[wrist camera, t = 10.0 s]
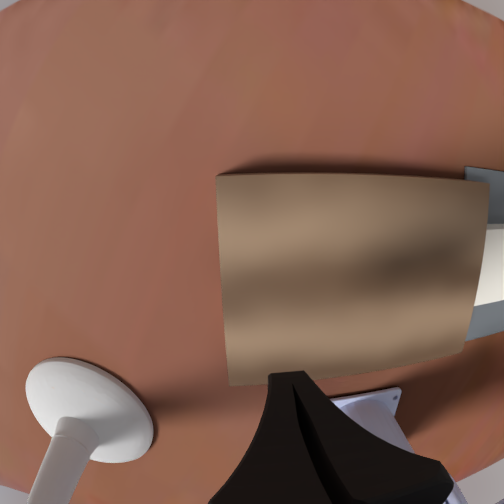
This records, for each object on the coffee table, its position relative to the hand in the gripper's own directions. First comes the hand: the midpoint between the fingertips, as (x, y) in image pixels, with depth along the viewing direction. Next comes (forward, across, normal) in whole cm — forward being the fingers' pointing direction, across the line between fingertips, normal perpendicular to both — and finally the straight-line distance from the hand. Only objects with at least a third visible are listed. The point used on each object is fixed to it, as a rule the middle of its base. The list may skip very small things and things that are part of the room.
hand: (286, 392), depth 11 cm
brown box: (+10, -6, -1) cm, 12 cm away
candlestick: (+11, +16, +12) cm, 23 cm away
